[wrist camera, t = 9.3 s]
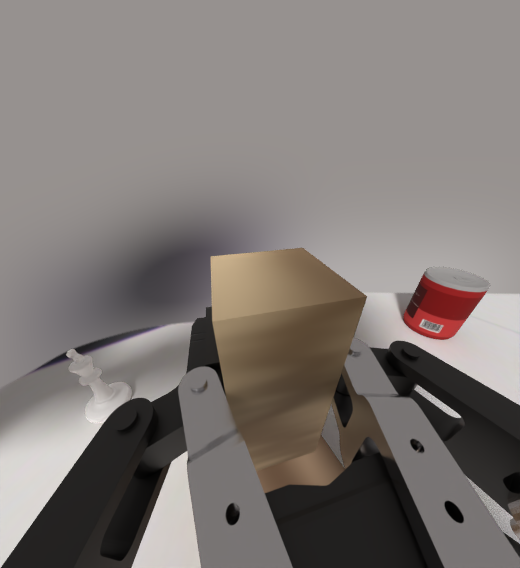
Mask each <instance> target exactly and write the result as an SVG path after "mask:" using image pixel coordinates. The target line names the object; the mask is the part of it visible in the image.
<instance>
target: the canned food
mask: <svg viewBox="0 0 520 568" xmlns="http://www.w3.org/2000/svg"><path fill="white" fill-rule="evenodd" d="M489 287H490V283H489V282H488V281H487V280H485V279H484V278H482V277H480V276H477V275H475V274H472V273H469V272H466V271H462V270H458V269H452V268H446V267H431V268H428V269H426V271H425V272H424V274H423V276H422V278H421V280H420V282H419V285H418V287H417V288H416V290H415V293H414V295H413V297H412V299H411V301H410V303H409V305H408V307H407V309H406V311H405V313H404V322H405V323H406V325H407V326H408V327H409V328H411V329H412V330H413V331H415V332H417V333H419V334H421V335H423V336H426V337H429V338H433V339H440V340H445V339H449V338H451V337H453V336H454V335H455V334H456V333H457V331H458V330H459V329H460V327H461V326H462V325H463V323H464V322H465V321H466V319H467V318H468V317H469V315H470V314H471V312H472V311H473V310H474V308H475V307H476V306H477V304H478V303H479V302H480V300H481V299H482V298H483V296H484V295H485V293H486V292H487V290H488V289H489Z"/></svg>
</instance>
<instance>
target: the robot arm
mask: <svg viewBox="0 0 520 568" xmlns="http://www.w3.org/2000/svg"><path fill="white" fill-rule="evenodd" d="M417 384H418V385H419V386H420V387H422V388H423V389H425V390H426V391H427V392H429V393H430V394H432V395H433V396H434V397H436V398H437V399H439V400H440V401H442V402H443V403H444V404H446V405H447V406H449V407H450V408H451V409H453V410H454V411H456V412H457V413H458V414H459V415H460V416H461V418H454V417H452V416H450V415H448V414H446V413H445V412H444V411H442V410H441V409H440V408H438V407H437V406H435V405H434V404H433V403H431V402H430V401H429V400H427V399H426V398H425V397H423V396H422V395H420V394H419V393H418V392H416V391H415V390H414V389H415V387H416V386H417ZM331 404H332V407H333V411H334V414H335V418H336V421H337V425H338V429H339V434H340V450H341V455H342V460H343V463H344V467H345V470H344V471H343V472H342V473H341V474H340V475H339V476H338V477H337V478H336V479H335V480H334V481H332V482H331V483H330V484H329V485H326V486H320V485H292V484H289V485H287V486H284V487H281V488H278V489H275V490H273V491H270V492H267V493H264V491H263V488H262V486H261V483H260V480H259V478H258V475H257V472H256V470H255V467H254V465H253V462H252V459H251V457H250V454H249V451H248V449H247V446H246V444H245V441H244V439H243V436H242V434H241V432H240V430H239V429H238V428H237V425H236V423H235V420H234V418H233V415H232V412H231V410H230V407H229V404H228V402H227V399H226V393H225V388H224V382H223V377H222V372H221V366H220V361H219V355H218V350H217V344H216V339H215V334H214V328H213V323H212V307H206V317H204V318H198V319H197V320H196V321H195V322H194V324H193V325H192V330H191V339H190V348H189V357H188V366H187V372H186V375H185V376H184V377H183V379H182V380H181V382H180V384H179V385H178V386H177V387H176V388H175V389H174V390H172V391H171V392H169V393H168V394H166V395H164V396H162V397H160V398H158V399H156V400H154V401H152V402H150V401H149V400H147V399H145V398H136V399H132V400H129V401H127V402H125V403H124V404H122V405H121V406H119V407H118V408H117V409H115V410H114V411H113V412H112V413H111V414H110V416H109V417H108V418H107V419H106V421H105V422H104V424H103V425H102V426H101V428H100V429H99V431H98V432H97V433H96V435H95V436H94V438H93V439H92V440H91V442H90V443H89V445H88V446H87V447H86V449H85V450H84V452H83V453H82V455H81V456H80V457H79V459H78V460H77V462H76V463H75V464H74V466H73V467H72V469H71V470H70V471H69V473H68V474H67V476H66V477H65V478H64V480H63V481H62V483H61V484H60V485H59V487H58V488H57V490H56V491H55V492H54V494H53V495H52V497H51V498H50V499H49V501H48V502H47V504H46V505H45V506H44V508H43V509H42V511H41V512H40V514H39V515H38V516H37V518H36V519H35V521H34V522H33V523H32V525H31V526H30V528H29V529H28V530H27V532H26V533H25V535H24V536H23V537H22V539H21V540H20V542H19V543H18V544H17V546H16V547H15V549H14V550H13V551H12V553H11V554H10V556H9V557H8V558H7V560H6V561H5V563H4V564H3V565H2V567H1V568H131V567H132V564H133V562H134V559H135V556H136V554H137V551H138V548H139V546H140V543H141V541H142V538H143V535H144V533H145V530H146V527H147V525H148V522H149V519H150V517H151V514H152V512H153V509H154V506H155V504H156V501H157V498H158V496H159V493H160V490H161V488H162V485H163V483H164V480H165V477H166V475H167V472H168V469H169V467H170V464H171V462H172V461H173V460H174V459H176V458H177V457H178V456H180V455H181V454H183V453H184V452H186V451H188V461H187V472H188V481H189V488H190V494H191V501H192V508H193V515H194V522H195V529H196V535H197V542H198V549H199V556H200V563H201V568H520V544H519V543H518V542H516V541H515V540H513V539H512V538H511V537H509V536H508V535H506V534H505V533H504V532H502V530H501V529H500V527H499V526H498V524H497V523H496V521H495V520H494V518H493V517H492V515H491V514H490V512H489V511H488V509H487V508H486V506H485V505H484V503H483V502H482V500H481V499H480V497H479V496H478V494H477V493H476V491H475V490H474V488H473V487H472V485H471V484H470V482H469V481H468V479H467V478H466V476H467V477H468V478H469V479H470V480H471V481H473V482H474V483H475V484H476V485H477V486H478V487H479V488H481V489H482V490H483V491H484V492H485V493H486V494H487V495H489V496H490V497H491V498H492V499H493V500H494V501H495V502H497V503H498V504H499V505H500V506H501V507H502V508H503V509H505V510H506V511H507V512H508V513H509V514H510V515H511V516H513V519H511V520H510V525H511V528H512V530H513V532H514V533H515V535H516V536H517V537H518V538H519V539H520V405H518V404H516V403H515V402H513V401H511V400H509V399H508V398H506V397H504V396H502V395H501V394H499V393H497V392H496V391H494V390H492V389H490V388H489V387H487V386H485V385H483V384H482V383H480V382H478V381H477V380H475V379H473V378H471V377H470V376H468V375H466V374H464V373H463V372H461V371H459V370H457V369H456V368H454V367H452V366H451V365H449V364H447V363H445V362H444V361H442V360H440V359H438V358H437V357H435V356H433V355H432V354H430V353H428V352H426V351H425V350H423V349H421V348H419V347H418V346H416V345H414V344H412V343H409V342H405V341H395V342H392V343H391V345H390V347H389V349H381V348H370V347H369V346H368V345H367V344H365V343H364V342H363V341H361V340H359V339H356V338H353V340H352V343H351V346H350V349H349V352H348V355H347V358H346V361H345V364H344V366H343V369H342V372H341V376H340V379H339V382H338V385H337V388H336V391H335V394H334V396H333V399H332V402H331ZM464 474H465V475H466V476H465V475H464Z"/></svg>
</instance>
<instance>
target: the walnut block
mask: <svg viewBox="0 0 520 568" xmlns="http://www.w3.org/2000/svg"><path fill="white" fill-rule="evenodd" d="M344 470H345V469H344V467H343V466H342V464H341V463H340V462H339V460H338V459H337V457H336V456H335V454H334V453H333V451H332V450H331V449H330V447H329V446H328V444H327V443H326V441H325V440H324V439H323V437H322V436H321V435H320V438H319V441H318V444H317V447H316V450H315V452H313V453H310V454H307V455H304V456H301V457H298V458H295V459H292V460H289V461H286V462H282V463H279V464H276V465H273V466H270V467H267V468H264V469H261V470H258V471H256V472H257V475H258V478H259V480H260V483H261V486H262V488H263V491H264V493H267V492H270V491H273V490H275V489H278V488H281V487H284V486H287V485H289V484H292V485H320V486H326V485H329V484H330V483H331V482H332V481H334V480H335V479H336V478H337V477H338V476H339V475H340V474H341V473H342V472H343V471H344Z"/></svg>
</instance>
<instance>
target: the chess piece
mask: <svg viewBox="0 0 520 568" xmlns="http://www.w3.org/2000/svg"><path fill="white" fill-rule="evenodd" d="M66 355H67V357H69V358H72V359H73V360H74V361H73V362H72V363H71V364H70V365H69V368H68V369H69V371H70V372H72V373H76V374H78V375H80V378H79V384H80V385H88V384H89V385H90V387H91V389H92V391H93V393H94V395H93V396H92V398H91V399H90V400H89V402H88V403H87V405H86V408H85V416H86V417H87V420H88V421H89V422H91V423H102V422H105V421H106V419H107V418H108V417H109V416H110V414H111V413H112V412H113V411H114V410H115V409H117V408H118V407H119V406H121V405H122V404H124V403H125V402H127V401H129V400H130V398H131V395H132V389H131V387H130V386H129V385H128V384H127V383H125V382H115V383H111V384H109V385H107V384H106V383H104V382H103V381H102V380H101V379H100V378H99V377H100V376H101V374H102V370H101V369H100V368H93V359H92V357H91V356H89V355H86V356H82V355H81V354H78V353H77V352H76V351H75V349H70V350H69V351H67V354H66Z"/></svg>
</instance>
